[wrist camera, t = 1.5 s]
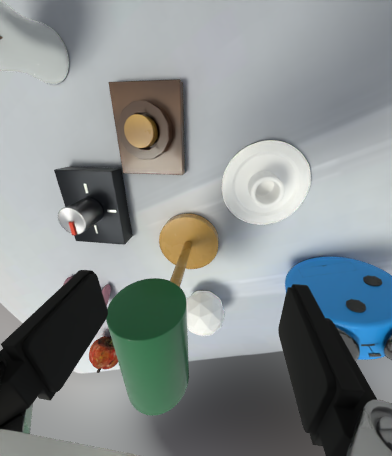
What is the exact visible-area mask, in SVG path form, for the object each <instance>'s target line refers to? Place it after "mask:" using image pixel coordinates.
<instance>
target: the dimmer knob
mask: <svg viewBox="0 0 392 456" xmlns="http://www.w3.org/2000/svg"><path fill="white" fill-rule="evenodd" d="M103 214H104V213H103V208H102V206H101V205H100V203H99V202H97V201H96V200H94V199H92V198H84V199H82V200H79V201H77V202H75V203H73V204H71V205H69V206H67V207H64V208H62V209H61V210H60V211H59V213H58V220H59V223H60V225H61V226H62V227H63V228H64V229H65V230H66V231H68V232H69V233H72V235H77V234H81V233H82V232H84V231H85V230H87V229H88V228H90V227H91V226H92V225H94V224H95V223H97V222H98V221H100V220H101V219H102V217H103Z"/></svg>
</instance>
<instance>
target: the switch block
mask: <svg viewBox="0 0 392 456" xmlns="http://www.w3.org/2000/svg"><path fill="white" fill-rule="evenodd" d="M109 88H110V94H111V100H112V107H113V113H114V119H115V125H116V132H117V138H118V144H119V150H120V156H121V163H122V169H123V173H133V174H171V175H183V174H184V173H185V148H184V109H183V83H182V81H181V80H153V81H125V82H109ZM134 114H140V115H145V116H148V117H150V118H151V119H152V120H153V121H154V122H155V124H156V126H157V129H158V137H157V140H156V142H155V143H154V144H153V145H152V146H150V147H145V148H137V147H134V146H133V145H131V144H130V143H129V141H128V140H127V138H126V136H125V132H124V125H125V122H126V120H127V119H128V118H129V117H130V116H131V115H134Z"/></svg>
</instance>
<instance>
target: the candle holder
mask: <svg viewBox="0 0 392 456" xmlns="http://www.w3.org/2000/svg"><path fill="white" fill-rule="evenodd" d="M310 184H311V174H310V166H309V164H308V162H307V160H306V159H305V157H304V156H303V155H302V153H301V152H300V151H299V150H298V149H296V148H295V147H293V146H292V145H290V144H288V143H285V142H282V141H276V140H266V141H260V142H257V143H254V144H251V145H249V146H247V147H245V148H244V149H242V150H241V151H240V152H239V153H237V154H236V155H235V156H234V157H233V159H232V160H231V161H230V163H229V164H228V166H227V168H226V170H225V172H224V175H223V179H222V196H223V199H224V202H225V204H226V206H227V208H228V209H229V210H230V212H231V213H232V214H233V215H234V216H236V217H237V218H238V219H240V220H242V221H244V222H247V223H250V224H255V225H267V224H272V223H276V222H279V221H281V220H283V219H285V218H287V217H288V216H290V215H291V214H292V213H294V212H295V211H296V210H297V209H298V208H299V206H300V205H301V204H302V203H303V201H304V199H305V197H306V195H307V193H308V190H309V187H310Z"/></svg>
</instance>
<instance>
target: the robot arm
mask: <svg viewBox="0 0 392 456" xmlns="http://www.w3.org/2000/svg"><path fill="white" fill-rule="evenodd" d="M107 316H108V310H107V307H106V303H105V300H104V297H103V294H102V290H101V287H100V284H99V281H98V278H97V275H96V274H95V273H94V272H93V271H88V270H80V271H78V272H77V273H76V274H75V275H74V276H73V277H72V278H71V279H70V280H69V281H68V282H67V283H66V284H64V285H63V286H62V287H61V288H60V289H59V290H58V291H57V292H56V293H55V294H54V295H53V296H52V297H51V298H50V299H48V300H47V301H46V302H45V303H44V304H43V305H42V306H41V307H40V308H39V309H38V310H37V311H36V312H35V313H34V314H32V315H31V316H30V317H29V318H28V319H27V320H26V321H25V322H24V323H23V324H22V325H21V326H20V327H19V328H18V329H17V330H16V331H14V332H13V333H12V334H11V335H10V336H9V337H8V338H7V339H6V340H5V341H4V342H3V343H2V344H1V345H2V347H3V349H2V350H1V351H0V456H139V455H134V454H129V453H124V452H119V451H114V450H109V449H104V448H99V447H94V446H88V445H83V444H78V443H73V442H68V441H63V440H57V439H52V438H47V437H42V436H37V435H32V434H30V426H31V416H32V407H33V402H34V401H35V399H36V398H37V396H38V397H39V398H40V399H46V400H51V399H52V398H53V396H54V394H55V393H56V392H58V391H59V390H60V389H61V388H62V387H63V385H64V383H65V382H66V380H67V379H68V377H69V376H70V374H71V373H72V371H73V370H74V368H75V366H76V365H77V363H78V362H79V360H80V359H81V357H82V356H83V354H84V352H85V351H86V349H87V348H88V346H89V345H90V343H91V342H92V340H93V338H94V337H95V335H96V334H97V332H98V331H99V329H100V328H101V326H102V325H103V323H104V321H105V320H106V318H107ZM279 337H280V341H281V345H282V348H283V352H284V356H285V360H286V364H287V367H288V371H289V375H290V379H291V382H292V386H293V390H294V394H295V398H296V402H297V405H298V409H299V413H300V417H301V421H302V425H303V428H304V430H305V432H307V433H310V436H311V440H312V443H313V445H318V446H323V448H324V451H325V454H326V456H392V403H389V402H386V401H383V400H377V398H376V397H375V395H374V393H373V391H372V390H371V388H370V386H369V384H368V383H367V381H366V379H365V377H364V376H363V374H362V372H361V370H360V368H359V367H358V365H357V363H356V361H355V360H354V358H353V356H352V354H351V353H350V351H349V349H348V347H347V345H346V344H345V342H344V340H343V338H342V337H341V335H340V333H339V331H338V330H337V328H336V326H335V324H334V323H333V321H332V320H331V319H329V318H325V317H324V315H323V313H322V311H321V309H320V307H319V305H318V303H317V302H316V300H315V298H314V296H313V294H312V292H311V290H310V289H309V287H308V286H307V285H300V284H293V285H292V286H291V287H288V288H287V292H286V297H285V301H284V306H283V310H282V315H281V319H280V324H279Z"/></svg>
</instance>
